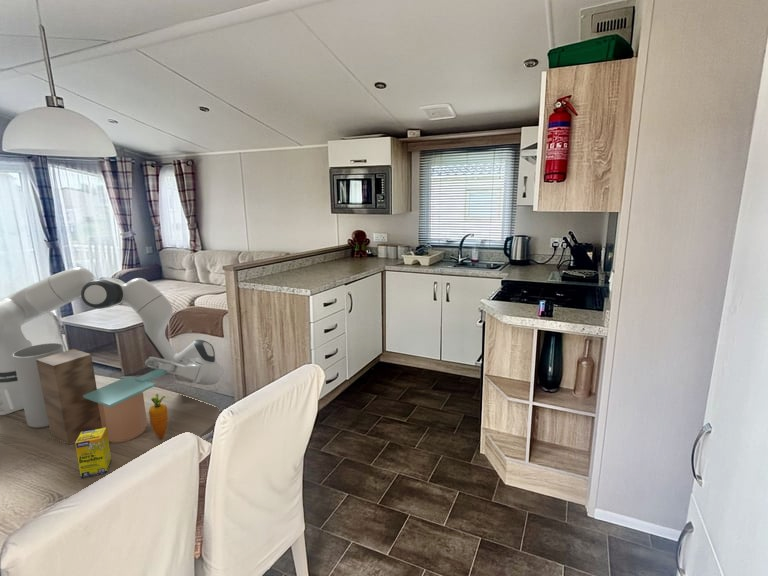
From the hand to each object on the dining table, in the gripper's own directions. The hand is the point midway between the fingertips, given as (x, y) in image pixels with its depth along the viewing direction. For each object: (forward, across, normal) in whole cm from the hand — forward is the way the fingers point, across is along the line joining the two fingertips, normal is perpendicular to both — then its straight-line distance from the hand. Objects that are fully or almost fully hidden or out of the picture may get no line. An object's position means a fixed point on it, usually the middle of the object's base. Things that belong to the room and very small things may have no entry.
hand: (152, 363), depth 132 cm
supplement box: (+13, +11, +30) cm, 34 cm away
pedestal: (+6, -14, +26) cm, 30 cm away
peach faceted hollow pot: (0, 0, +22) cm, 22 cm away
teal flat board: (+3, 0, +7) cm, 8 cm away
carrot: (-3, +14, +21) cm, 25 cm away
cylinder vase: (+6, -31, +26) cm, 41 cm away
